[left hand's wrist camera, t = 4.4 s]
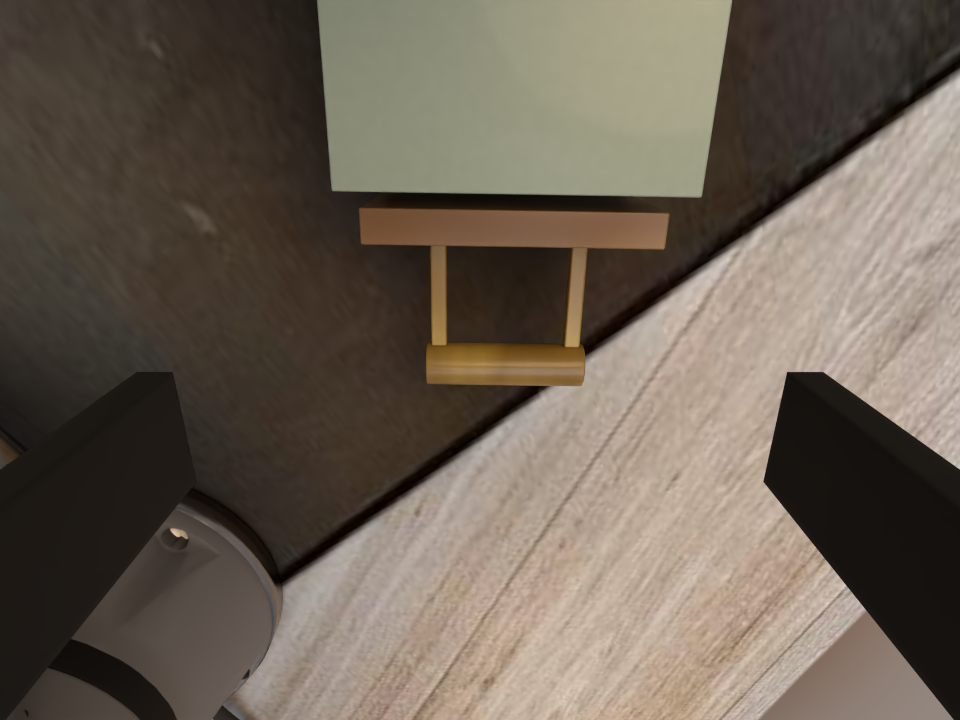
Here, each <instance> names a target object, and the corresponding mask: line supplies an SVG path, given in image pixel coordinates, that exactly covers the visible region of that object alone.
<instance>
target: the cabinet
mask: <svg viewBox="0 0 960 720" xmlns="http://www.w3.org/2000/svg"><path fill="white" fill-rule="evenodd" d="M731 4H732V0H317V6H318V19H319V32H320V45H321V58H322V71H323V84H324V97H325V110H326V123H327V136H328V149H329V162H330V175H331V188H332V191H346V192H405V193H464V194H523V195H581V196H640V197H699V198H700V197H701V196H702V190H703V184H704V178H705V171H706V165H707V158H708V152H709V146H710V139H711V133H712V126H713V120H714V114H715V107H716V101H717V94H718V88H719V81H720V75H721V69H722V62H723V56H724V49H725V43H726V37H727V30H728V24H729V17H730V11H731Z"/></svg>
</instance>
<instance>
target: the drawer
mask: <svg viewBox="0 0 960 720" xmlns="http://www.w3.org/2000/svg"><path fill="white" fill-rule="evenodd" d="M359 221H360V238H361V244H362V245H422V246H430V268H431V332H432V342H428V343H427V350H426V381H427V384H459V385H532V386H581V385H582V384H583V381H584V375H585V353H584V348H583V346H582V345H581V344H579V342H580V331H581V319H582V308H583V296H584V285H585V273H586V262H587V250H588V248H608V249H664V248H665V243H666V235H667V228H668V221H669V213H668V212H665V211H663V210H661V209H659V208H657V207H654V206H652V205H650V204H648V203H646V202H643V201H641V200H639V199H637V198H635V197H632V196H581V195H523V194H464V193H405V192H382V193H380V194H379V195H377V196H376V197H374V198H373V199H371V200H370V201H369V202H367V203H366V204H364V205H363V206H361V207H360V208H359ZM447 246H484V247H546V248H570V251H569V264H568V278H567V291H566V304H565V318H564V331H563V344H531V343H462V342H447Z"/></svg>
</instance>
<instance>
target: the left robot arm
mask: <svg viewBox="0 0 960 720" xmlns="http://www.w3.org/2000/svg"><path fill="white" fill-rule="evenodd" d="M195 483H196V477H195V472H194V468H193V463H192V459H191V454H190V449H189V445H188V440H187V436H186V431H185V426H184V422H183V417H182V413H181V408H180V403H179V399H178V394H177V390H176V385H175V380H174V376H173V372H136V373H135V374H134V375H132V376H131V377H129V378H128V379H127V380H125V381H124V382H122V383H121V384H120V385H118V386H117V387H115V388H114V389H113V390H111V391H110V392H108V393H107V394H106V395H104V396H103V397H101V398H100V399H99V400H97V401H96V402H94V403H93V404H92V405H90V406H89V407H87V408H86V409H85V410H83V411H82V412H80V413H79V414H78V415H76V416H75V417H73V418H72V419H71V420H69V421H68V422H66V423H65V424H64V425H62V426H61V427H59V428H58V429H57V430H55V431H54V432H52V433H51V434H50V435H48V436H47V437H45V438H44V439H43V440H41V441H40V442H38V443H37V444H36V445H34V446H33V447H31V448H30V449H29V450H27V451H26V452H24V453H23V454H22V455H20V456H19V457H17V458H16V459H15V460H13V461H12V462H10V463H9V464H8V465H6V466H5V467H3V468H2V469H1V470H0V720H212V719H214V720H239V719H238V718H237V717H235V716H234V715H233V714H232V713H231V712H229V711H228V710H227V709H226V708H225V707H224V706H222V705H223V703H224V702H225V701H226V699H227V698H228V697H229V696H230V695H232V694H233V693H234V692H236V691H237V690H238V689H239V688H240V687H241V686H242V685H243V684H244V683H245V682H246V681H247V680H248V679H249V677H250V676H251V675H252V674H253V673H254V671H255V670H256V669H257V668H258V666H259V665H260V664H261V662H262V660H263V659H264V657H265V655H266V653H267V651H268V649H269V646H270V644H271V641H272V639H273V636H274V634H275V631H276V629H277V627H278V623H279V620H280V617H281V611H282V599H283V598H282V588H281V583H280V578H279V575H278V572H277V569H276V567H275V565H274V563H273V560H272V558H271V556H270V555H269V553H268V552H267V550H266V548H265V547H264V545H263V544H262V543H261V541H260V540H259V539H258V537H257V536H256V535H255V534H254V533H253V532H252V531H251V530H250V529H249V528H248V527H247V526H246V525H245V524H244V523H243V522H242V521H241V520H240V519H239V518H237V517H236V516H235V515H234V514H232V513H231V512H230V511H228V510H227V509H225V508H224V507H222V506H221V505H219V504H218V503H216V502H214V501H212V500H211V499H209V498H207V497H205V496H203V495H201V494H199V493H197V492H195V491H192V490H190V489H191V488H192V487H193V485H194V484H195ZM764 483H765V484H766V485H767V487H768V488H769V489H770V490H771V492H772V493H773V494H774V495H775V497H776V498H777V499H778V500H779V502H780V503H781V504H782V505H783V507H784V508H785V509H786V510H787V512H788V513H789V514H790V515H791V517H792V518H793V519H794V520H795V522H796V523H797V524H798V525H799V527H800V528H801V529H802V530H803V532H804V533H805V534H806V535H807V537H808V538H809V539H810V540H811V542H812V543H813V544H814V545H815V547H816V548H817V549H818V550H819V552H820V553H821V554H822V555H823V557H824V558H825V559H826V560H827V562H828V563H829V564H830V565H831V567H832V568H833V569H834V570H835V572H836V573H837V574H838V575H839V577H840V578H841V579H842V580H843V582H844V583H845V584H846V585H847V587H848V588H849V589H850V590H851V592H852V593H853V594H854V595H855V597H856V598H857V599H858V600H859V602H860V603H861V604H862V605H863V607H864V608H865V609H866V610H867V612H868V613H869V614H870V615H871V617H872V618H873V619H874V620H875V622H876V623H877V624H878V625H879V627H880V628H881V629H882V630H883V632H884V633H885V634H886V635H887V637H888V638H889V639H890V640H891V642H892V643H893V644H894V645H895V647H896V648H897V649H898V650H899V652H900V653H901V654H902V655H903V657H904V658H905V659H906V660H907V662H908V663H909V664H910V665H911V667H912V668H913V669H914V670H915V672H916V673H917V674H918V675H919V677H920V678H921V679H922V680H923V682H924V683H925V684H926V685H927V687H928V688H929V689H930V690H931V692H932V693H933V694H934V695H935V697H936V698H937V699H938V700H939V702H940V703H941V704H942V705H943V707H944V708H945V709H946V710H947V712H948V713H949V714H950V715H951V717H952V718H953V719H954V720H960V470H959V469H958V468H957V467H955V466H954V465H952V464H951V463H950V462H948V461H947V460H945V459H944V458H943V457H941V456H940V455H938V454H937V453H936V452H934V451H933V450H931V449H930V448H929V447H927V446H926V445H924V444H923V443H922V442H920V441H919V440H917V439H916V438H915V437H913V436H912V435H910V434H909V433H908V432H906V431H905V430H903V429H902V428H901V427H899V426H898V425H896V424H895V423H894V422H892V421H891V420H889V419H888V418H887V417H885V416H884V415H882V414H881V413H880V412H878V411H877V410H875V409H874V408H873V407H871V406H870V405H868V404H867V403H866V402H864V401H863V400H861V399H860V398H859V397H857V396H856V395H854V394H853V393H852V392H850V391H849V390H847V389H846V388H845V387H843V386H842V385H840V384H839V383H838V382H836V381H835V380H833V379H832V378H831V377H829V376H828V375H826V374H825V373H824V372H787V376H786V380H785V385H784V390H783V394H782V399H781V403H780V408H779V413H778V417H777V422H776V426H775V431H774V436H773V440H772V445H771V449H770V454H769V459H768V463H767V468H766V472H765V477H764Z"/></svg>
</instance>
